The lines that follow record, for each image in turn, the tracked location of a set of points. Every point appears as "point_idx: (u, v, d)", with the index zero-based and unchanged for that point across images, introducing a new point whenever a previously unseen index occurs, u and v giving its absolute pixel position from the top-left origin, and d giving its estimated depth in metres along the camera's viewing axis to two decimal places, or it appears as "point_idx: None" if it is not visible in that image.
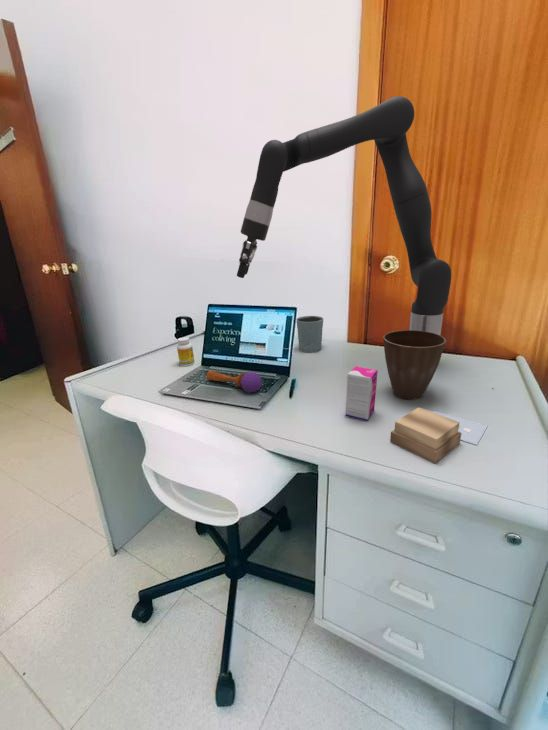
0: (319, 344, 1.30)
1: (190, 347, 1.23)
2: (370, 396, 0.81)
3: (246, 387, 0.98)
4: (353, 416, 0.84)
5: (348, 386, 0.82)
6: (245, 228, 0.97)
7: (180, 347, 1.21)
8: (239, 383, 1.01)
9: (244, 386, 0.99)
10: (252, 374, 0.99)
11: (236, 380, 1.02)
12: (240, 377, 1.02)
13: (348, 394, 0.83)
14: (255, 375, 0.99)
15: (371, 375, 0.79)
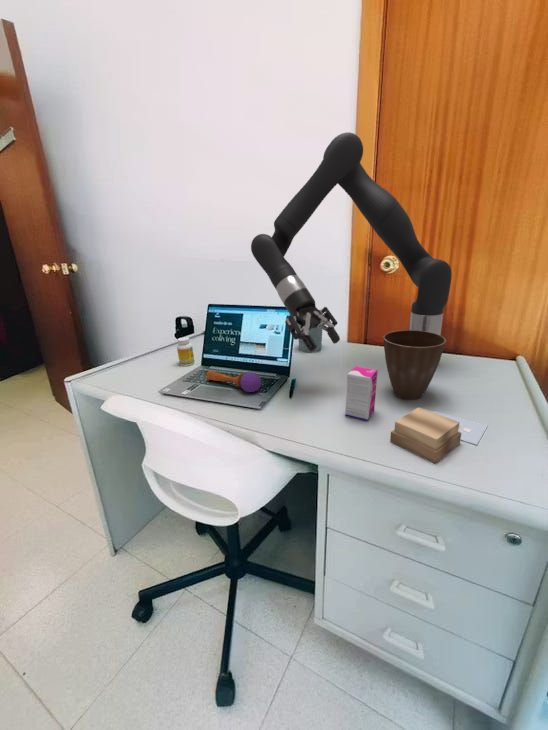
0: (319, 344, 1.30)
1: (190, 347, 1.23)
2: (370, 396, 0.81)
3: (245, 387, 0.98)
4: (353, 416, 0.84)
5: (348, 386, 0.82)
6: None
7: (180, 347, 1.21)
8: (238, 383, 1.01)
9: (243, 386, 0.99)
10: (251, 374, 0.99)
11: (236, 380, 1.02)
12: (240, 377, 1.02)
13: (348, 394, 0.83)
14: (254, 375, 0.99)
15: (371, 375, 0.79)
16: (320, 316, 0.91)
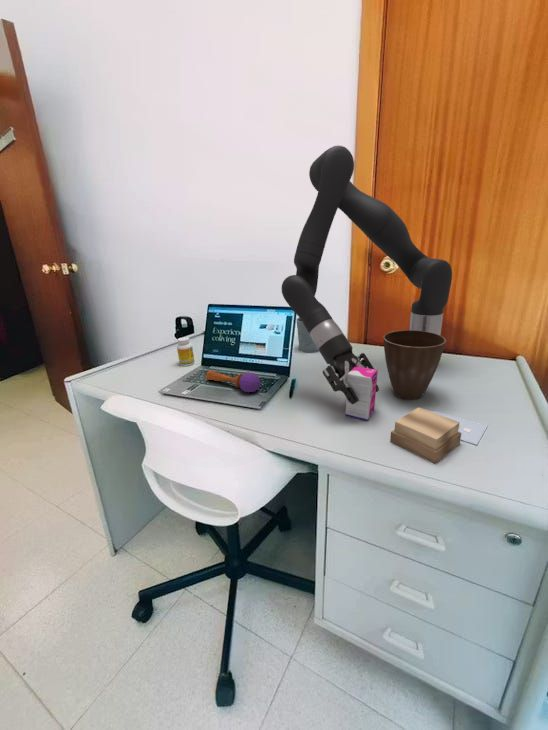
0: None
1: (190, 347, 1.23)
2: (370, 396, 0.81)
3: (244, 387, 0.98)
4: (353, 416, 0.84)
5: None
6: None
7: (180, 347, 1.21)
8: (237, 383, 1.01)
9: (242, 386, 0.99)
10: (250, 374, 0.99)
11: (235, 380, 1.02)
12: (239, 377, 1.01)
13: None
14: (253, 375, 0.99)
15: (371, 375, 0.79)
16: (358, 364, 0.85)
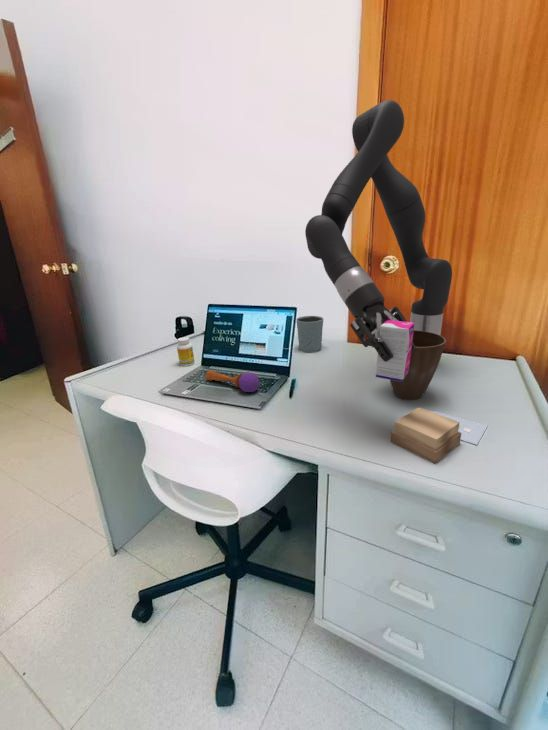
0: (319, 344, 1.30)
1: (190, 347, 1.23)
2: (406, 352, 0.69)
3: (243, 387, 0.98)
4: (385, 377, 0.73)
5: None
6: (350, 311, 0.76)
7: (180, 347, 1.21)
8: (237, 383, 1.01)
9: (242, 386, 0.99)
10: (250, 374, 0.99)
11: (234, 380, 1.02)
12: (238, 377, 1.02)
13: None
14: (253, 375, 0.99)
15: (409, 327, 0.68)
16: (391, 317, 0.74)
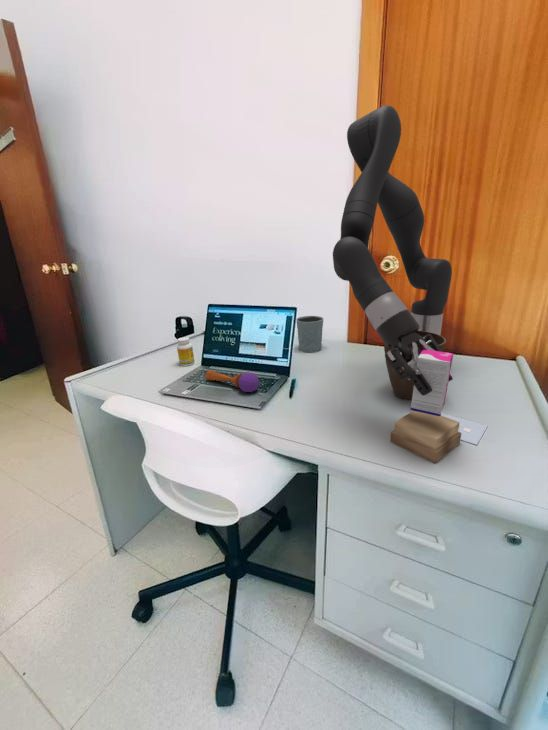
0: (319, 344, 1.30)
1: (190, 347, 1.23)
2: (446, 385, 0.65)
3: (243, 387, 0.98)
4: (421, 410, 0.68)
5: None
6: (383, 340, 0.71)
7: (180, 347, 1.21)
8: (237, 383, 1.02)
9: (241, 386, 0.99)
10: (249, 374, 0.99)
11: (234, 380, 1.02)
12: (238, 377, 1.02)
13: None
14: (252, 375, 0.99)
15: (450, 359, 0.64)
16: (427, 347, 0.69)
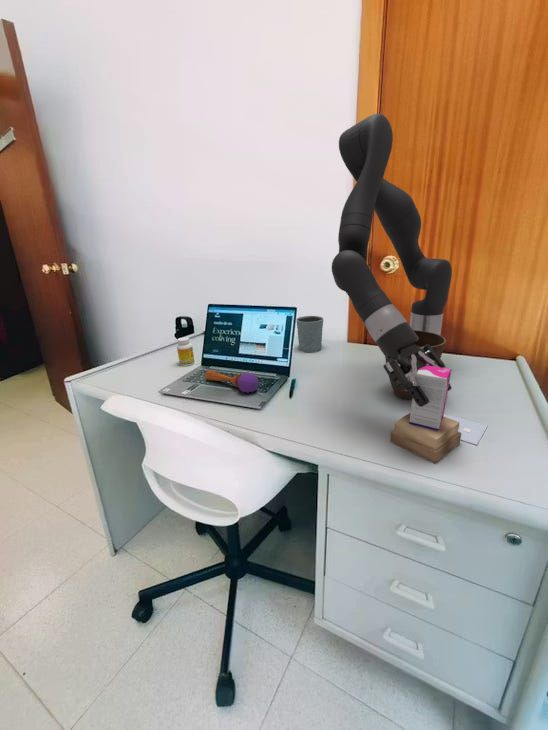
0: (319, 344, 1.30)
1: (190, 347, 1.23)
2: (443, 401, 0.66)
3: (242, 387, 0.98)
4: (420, 424, 0.70)
5: None
6: (382, 351, 0.72)
7: (180, 347, 1.21)
8: (236, 383, 1.01)
9: (240, 386, 0.99)
10: (249, 374, 0.99)
11: (233, 380, 1.02)
12: (237, 377, 1.02)
13: None
14: (252, 376, 0.99)
15: (447, 376, 0.65)
16: (426, 358, 0.70)
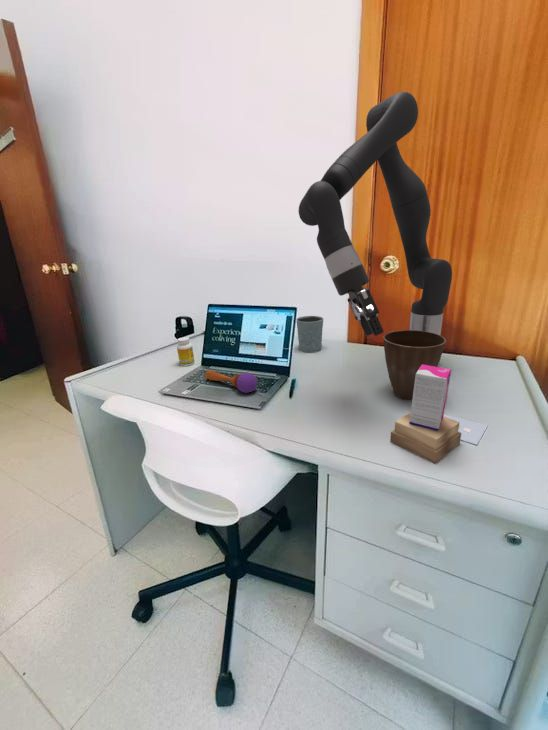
0: (319, 344, 1.30)
1: (190, 347, 1.23)
2: (443, 401, 0.66)
3: (241, 388, 0.98)
4: (420, 424, 0.70)
5: (416, 388, 0.68)
6: (344, 284, 0.77)
7: (180, 347, 1.21)
8: (235, 383, 1.01)
9: (239, 386, 0.99)
10: (247, 375, 0.99)
11: (232, 380, 1.02)
12: (236, 377, 1.01)
13: (415, 398, 0.68)
14: (250, 376, 0.99)
15: (447, 376, 0.65)
16: None
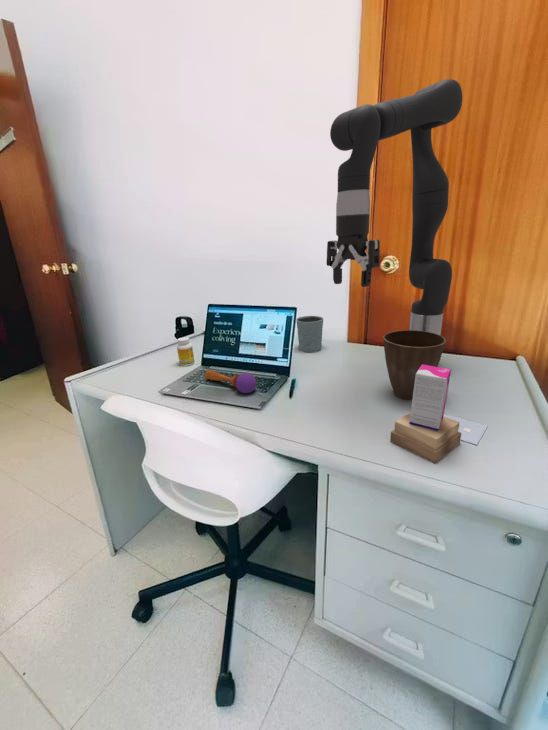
0: (319, 344, 1.30)
1: (190, 347, 1.23)
2: (443, 401, 0.66)
3: (240, 388, 0.98)
4: (420, 424, 0.70)
5: (416, 388, 0.68)
6: (355, 227, 0.77)
7: (180, 347, 1.21)
8: (234, 383, 1.01)
9: (238, 387, 0.99)
10: (247, 375, 0.99)
11: (231, 380, 1.02)
12: (235, 377, 1.01)
13: (415, 398, 0.68)
14: (250, 376, 0.99)
15: (447, 376, 0.65)
16: None
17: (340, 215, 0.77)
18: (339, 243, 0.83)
